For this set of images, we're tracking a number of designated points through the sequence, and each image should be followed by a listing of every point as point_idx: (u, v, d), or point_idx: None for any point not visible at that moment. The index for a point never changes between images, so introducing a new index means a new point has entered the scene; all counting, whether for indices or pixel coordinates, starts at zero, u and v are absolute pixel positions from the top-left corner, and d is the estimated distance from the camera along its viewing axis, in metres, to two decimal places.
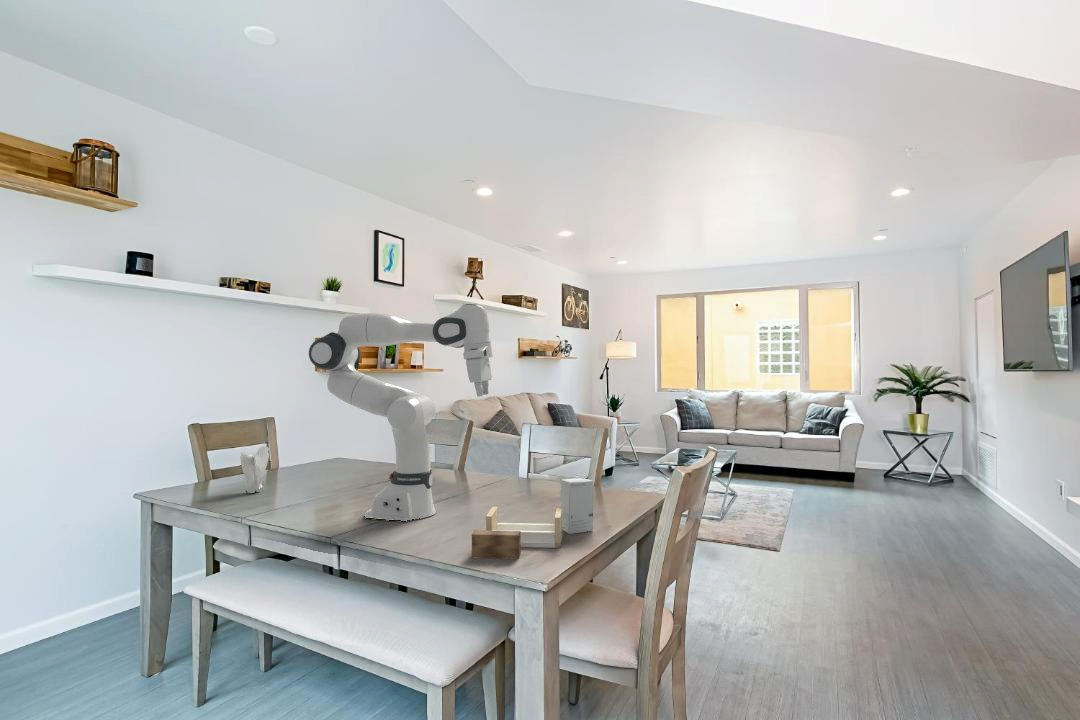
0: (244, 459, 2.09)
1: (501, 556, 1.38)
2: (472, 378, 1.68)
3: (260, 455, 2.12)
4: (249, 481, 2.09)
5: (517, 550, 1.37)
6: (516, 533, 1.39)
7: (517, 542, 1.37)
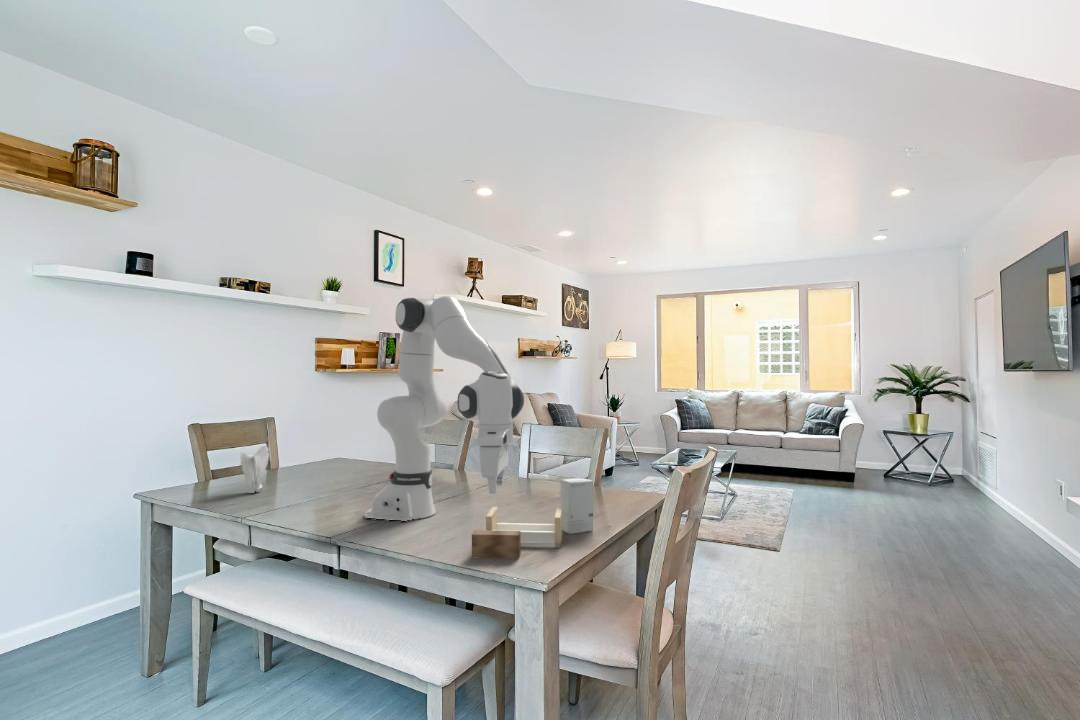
0: (244, 459, 2.09)
1: (501, 556, 1.38)
2: (485, 473, 1.30)
3: (260, 455, 2.12)
4: (249, 481, 2.09)
5: (517, 550, 1.37)
6: (516, 533, 1.39)
7: (517, 542, 1.37)
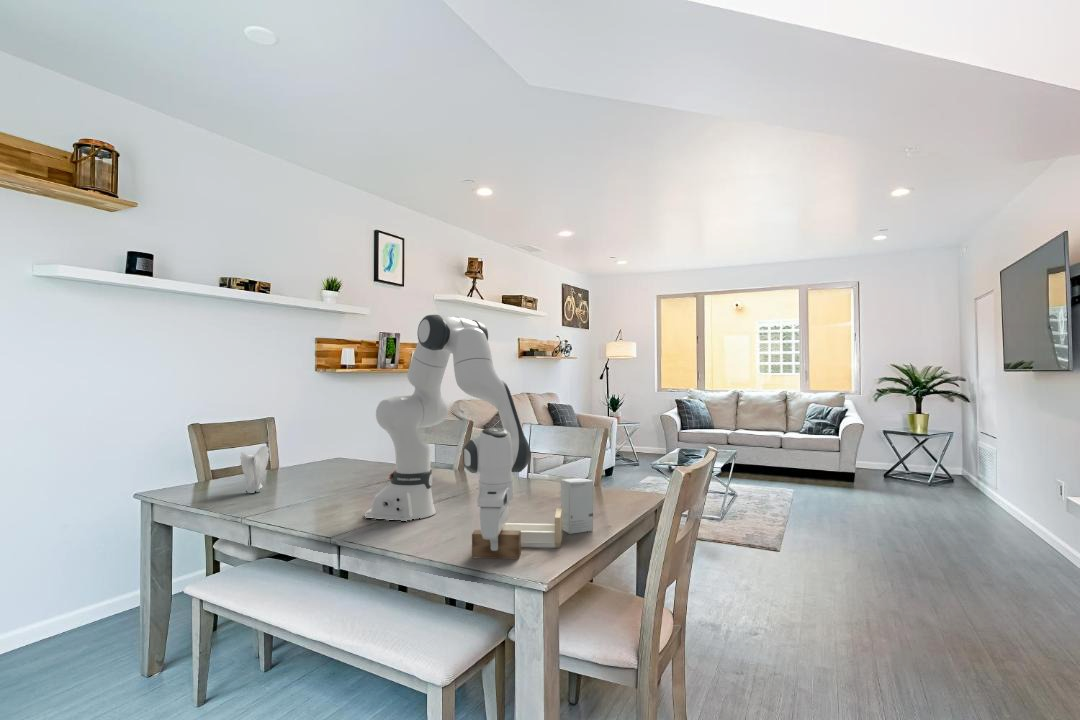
0: (244, 459, 2.09)
1: (501, 556, 1.38)
2: (485, 535, 1.30)
3: (260, 455, 2.12)
4: (249, 481, 2.09)
5: (517, 550, 1.37)
6: (516, 533, 1.39)
7: (517, 542, 1.37)
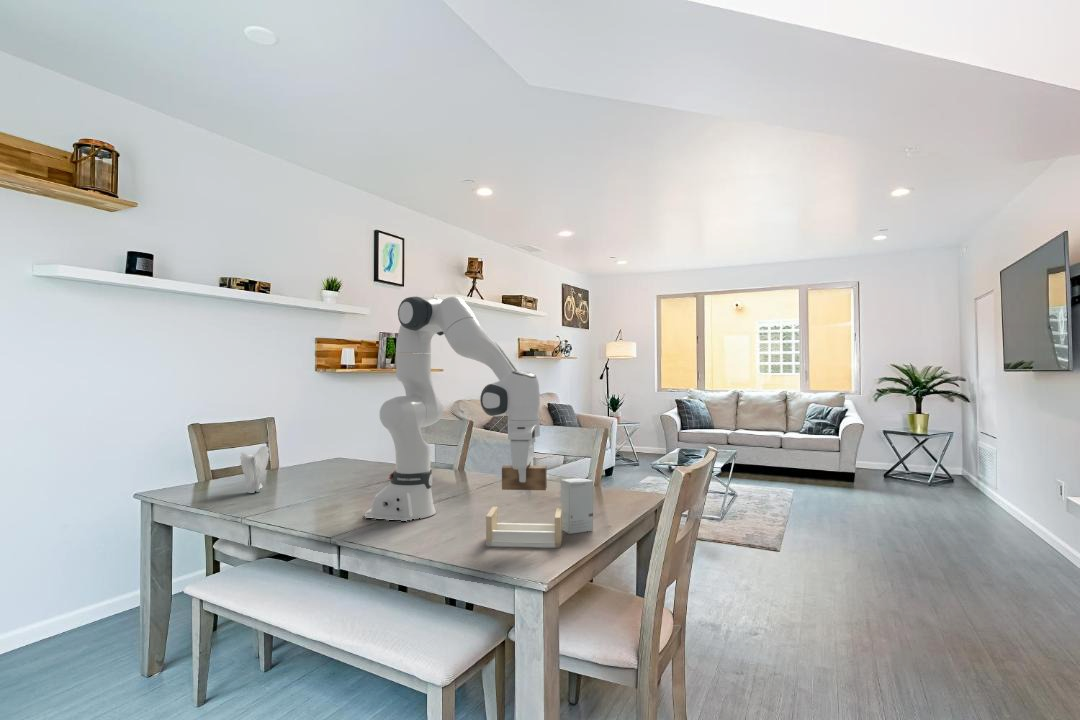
0: (244, 459, 2.09)
1: (529, 487, 1.49)
2: (516, 465, 1.41)
3: (260, 455, 2.12)
4: (249, 481, 2.09)
5: (544, 482, 1.49)
6: (543, 467, 1.50)
7: (544, 474, 1.49)
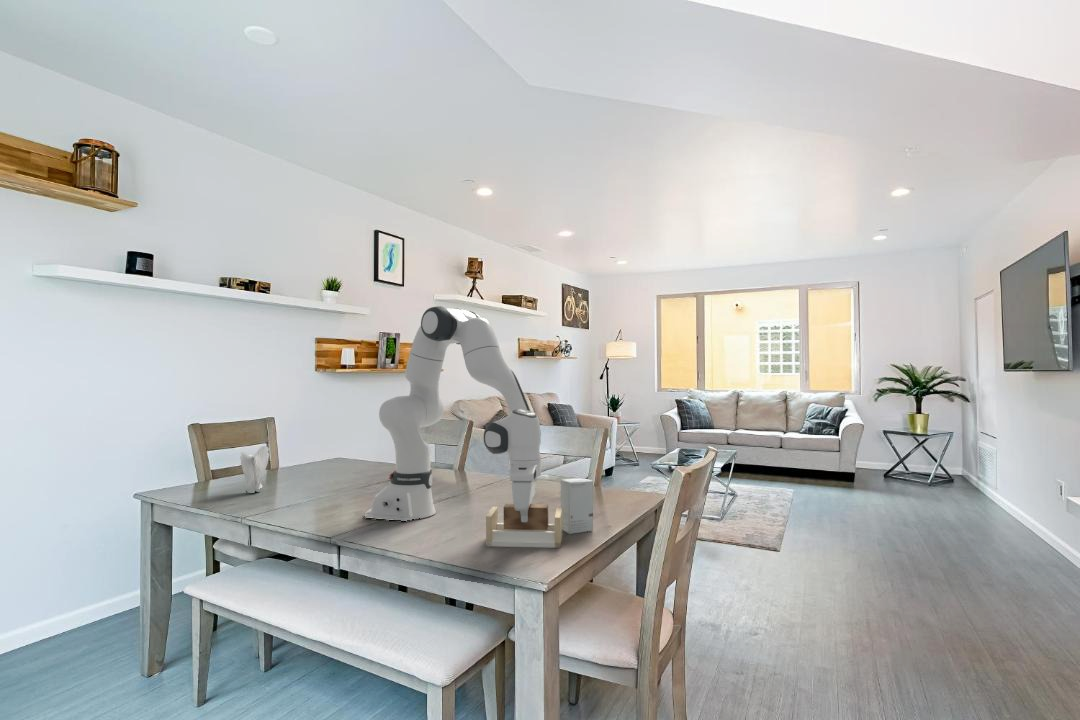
0: (244, 459, 2.09)
1: (531, 527, 1.49)
2: (517, 507, 1.41)
3: (260, 455, 2.12)
4: (249, 481, 2.09)
5: (546, 521, 1.49)
6: (544, 506, 1.50)
7: (546, 514, 1.49)
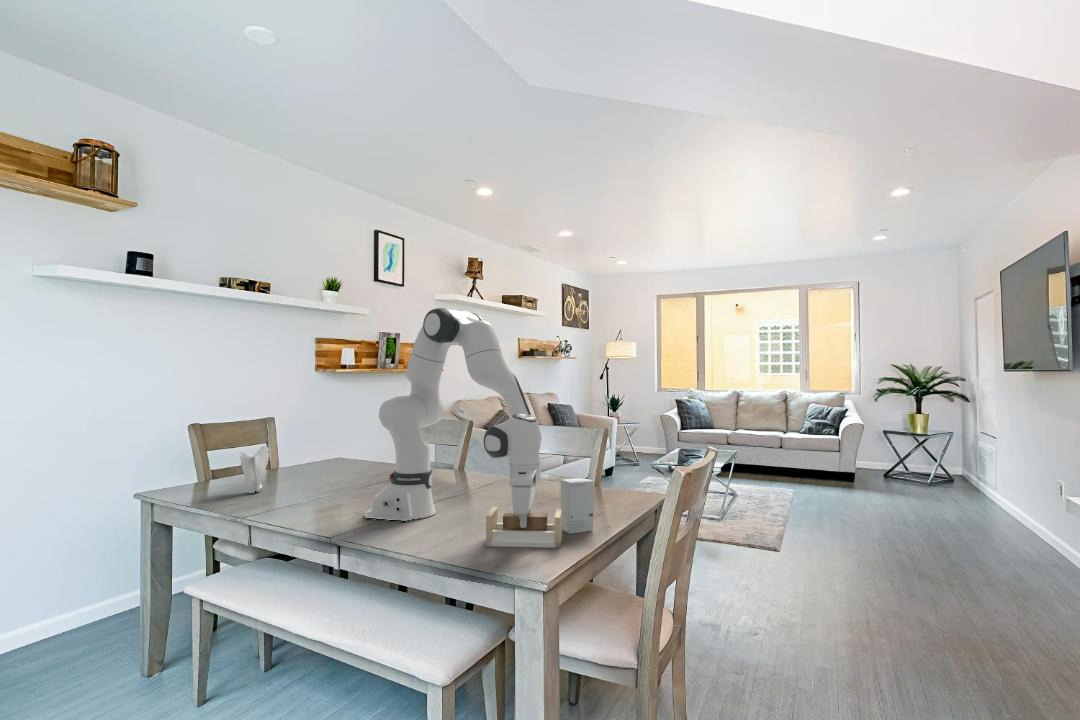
0: (244, 459, 2.09)
1: None
2: (517, 511, 1.41)
3: (260, 455, 2.12)
4: (249, 481, 2.09)
5: (545, 530, 1.49)
6: (544, 515, 1.50)
7: (545, 523, 1.49)
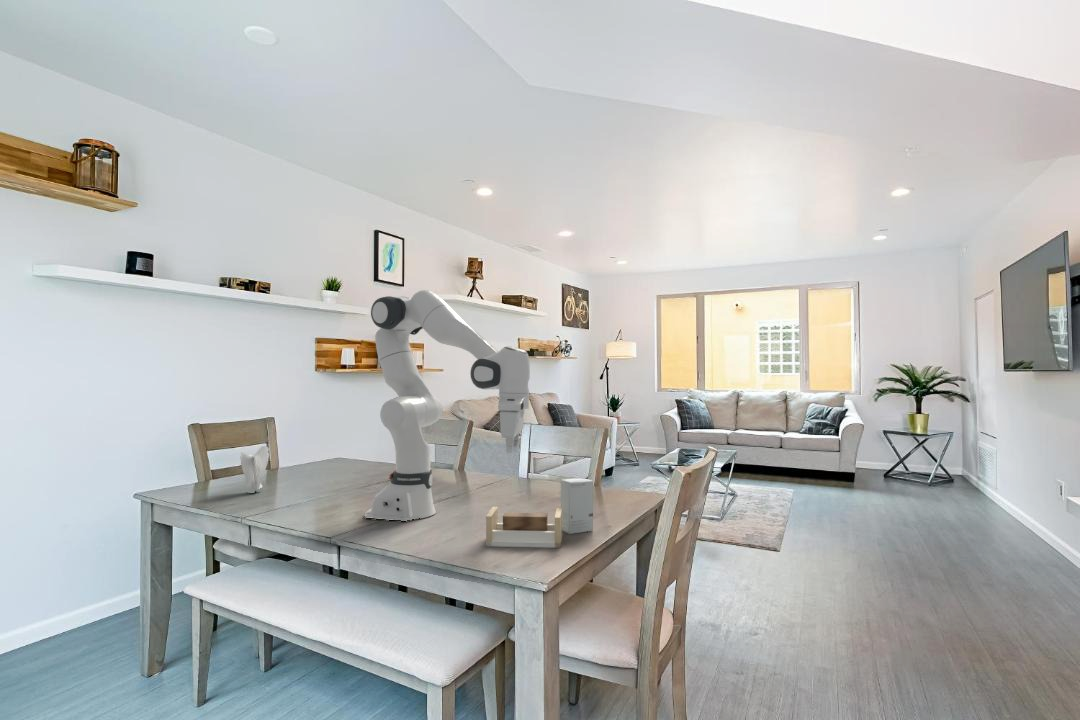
0: (244, 459, 2.09)
1: None
2: (504, 434, 1.51)
3: (260, 455, 2.12)
4: (249, 481, 2.09)
5: (545, 530, 1.49)
6: (544, 515, 1.50)
7: (545, 523, 1.49)
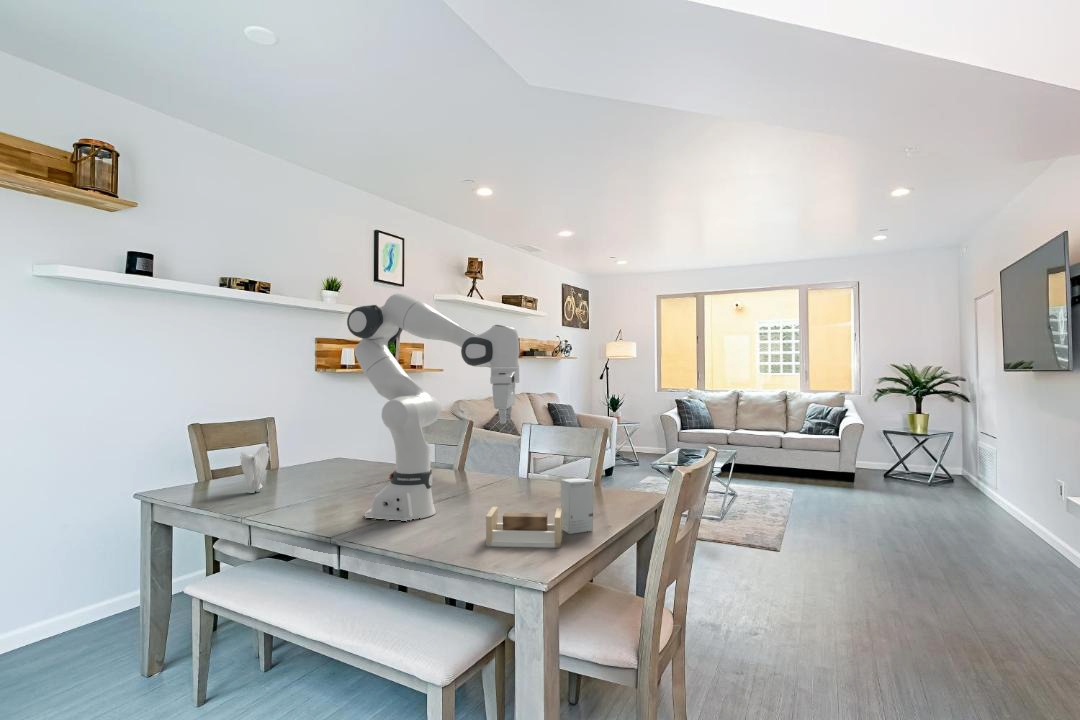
0: (244, 459, 2.09)
1: None
2: (497, 405, 1.59)
3: (260, 455, 2.12)
4: (249, 481, 2.09)
5: (545, 530, 1.49)
6: (544, 515, 1.50)
7: (545, 523, 1.49)
